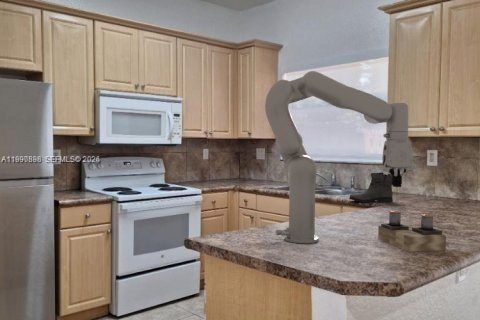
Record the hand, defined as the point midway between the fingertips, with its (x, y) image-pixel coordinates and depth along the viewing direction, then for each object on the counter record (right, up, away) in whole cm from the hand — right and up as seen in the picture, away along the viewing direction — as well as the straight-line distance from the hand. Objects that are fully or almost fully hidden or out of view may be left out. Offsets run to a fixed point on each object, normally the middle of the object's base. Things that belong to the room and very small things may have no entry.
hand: (396, 186), depth 158 cm
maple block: (+4, -21, -3) cm, 21 cm away
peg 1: (-1, -16, +1) cm, 16 cm away
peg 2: (+8, -16, -7) cm, 19 cm away
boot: (+26, -17, +116) cm, 120 cm away
